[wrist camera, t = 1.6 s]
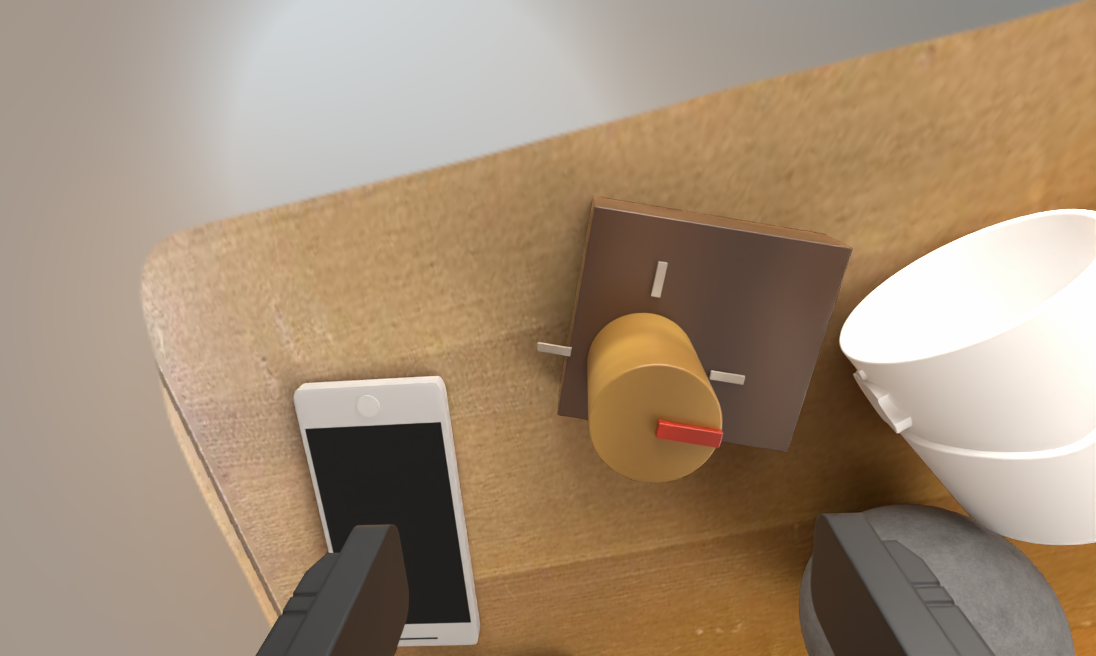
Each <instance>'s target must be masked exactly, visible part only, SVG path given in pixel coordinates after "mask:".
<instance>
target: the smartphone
mask: <svg viewBox="0 0 1096 656" xmlns="http://www.w3.org/2000/svg"><path fill="white" fill-rule="evenodd" d="M294 405H295V409H296V414H297V418H298V422H299V427H300V431H301V435H302V439H303V444H304V448H305V452H306V457H307V461H308V465H309V470H310V474H311V478H312V483H313V487H314V491H315V496H316V500H317V504H318V508H319V513H320V517H321V521H322V526H323V530H324V534H325V539H326V543H327V547H328V552H329V553H340V552H341V550H342V548H343V546H344V544H345V543H346V541H347V539H348V537H349V535H350V533H351V532H352V530H353V528H354V527H355V526H357V525H390V524H394V525H395V526H396V527H397V529H398V532H399V537H400V542H401V548H402V554H403V559H404V565H405V571H406V576H407V582H408V588H409V607H408V614H407V619H406V623H405V626H404V629H403V632H402V635H401V638H400V640H399V643H398V646H441V645H474V644H476V643H477V641H478V636H479V631H480V620H479V613H478V606H477V599H476V592H475V586H474V579H473V572H472V565H471V558H470V551H469V544H468V537H467V530H466V524H465V517H464V510H463V503H462V496H461V489H460V482H459V475H458V469H457V462H456V455H455V448H454V441H453V434H452V427H451V420H450V414H449V407H448V400H447V393H446V387H445V383H444V381H443V379H442V378H441V377H439V376H426V377H408V378H390V379H372V380H353V381H335V382H317V383H304V384H302V385H301V386H300V387H299V388H298V389H297V390H296V391H295V393H294Z"/></svg>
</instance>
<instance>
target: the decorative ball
mask: <svg viewBox="0 0 1096 656" xmlns="http://www.w3.org/2000/svg"><path fill="white" fill-rule="evenodd" d="M860 513H862V514H863V515H864V516H865V517H866V518H867V520H868V521H869V522H870V524H871V525H872V527H873V528H874V530H875V531H876V533H877V534H878V535H879V537H880V538H881V540H897V541H898V542H900V543H901V544H902V545H904V546H905V547H907V548H908V549H909V550H911V551H912V552H914V553H915V554H916V555H918V556H919V557H921V558H922V559H923V560H924V561H925V563H926V564H927V565H928V567H929V568H930V569H931V570H932V572H933V573H934V574H935V576H936V577H937V578H938V580H939V581H940V585H941V586H944V588H945V589H946V590H947V592H948V593H949V594H950V596H951V597H952V598H953V600H954V603H955V605H958V606H959V608H960V609H961V610H962V612H963V613H964V614H965V616H966V617H967V618H968V619H969V621H970V622H971V623H972V625H973V626H974V627H975V629H976V630H977V631H978V633H979V634H980V635H981V637H982V638H983V639H984V641H985V642H986V643H987V645H988V646H989V647H990V649H991V650H992V651H993V653H994V654H995V655H996V656H1075V651H1074V644H1073V639H1072V635H1071V631H1070V628H1069V624H1068V620H1067V618H1066V616H1065V613H1064V610H1063V608H1062V606H1061V604H1060V602H1059V600H1058V598H1057V596H1056V594H1055V592H1054V591H1053V589H1052V587H1051V586H1050V585H1049V583H1048V582H1047V580H1046V579H1045V577H1044V576H1043V574H1042V573H1041V572H1040V571H1039V570H1038V569H1037V567H1036V566H1035V565H1034V564H1033V562H1032V561H1031V560H1030V559H1029V558H1028V557H1027V556H1026V555H1025V554H1024V553H1023V552H1022V551H1020V550H1019V549H1018V548H1017V547H1016V546H1014V545H1013V544H1012V543H1011V542H1009V541H1008V540H1007V539H1005V538H1004V537H1003V536H1001V535H1000V534H998V533H996V532H994V531H992V530H990V529H988V528H986V527H984V526H983V525H981V524H980V523H978V522H977V521H975V520H973V519H971V518H969V517H967V516H964V515H962V514H959V513H957V512H953V511H949V510H946V509H943V508H939V507H934V506H926V505H920V504H893V505H887V506H881V507H877V508H873V509H869V510H866V511H863V512H860ZM811 564H812V555H811V557H810V559H809V561H808V563H807V565H806V568H805V571H804V574H803V577H802V581H801V586H800V595H799V616H800V624H801V630H802V634H803V638H804V642H805V645H806V648H807V651H808V654H809V656H835V655H834V653H833V651H832V649H831V647H830V645H829V642H828V640H827V638H826V636H825V634H824V631H823V629H822V627H821V625H820V623H819V621H818V618H817V616H816V613H815V610H814V606H813V602H812V597H811V588H810V577H811Z"/></svg>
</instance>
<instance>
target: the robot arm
mask: <svg viewBox="0 0 1096 656" xmlns="http://www.w3.org/2000/svg"><path fill="white" fill-rule="evenodd" d="M810 588H811V597H812V602H813V606H814V610H815V613H816V616H817V618H818V621H819V623H820V625H821V627H822V629H823V631H824V634H825V636H826V638H827V640H828V642H829V645H830V647H831V649H832V651H833V653H834V655H835V656H996V655H995V654H994V653H993V651H992V650H991V649H990V647H989V646H988V645H987V643H986V642H985V641H984V639H983V638H982V637H981V635H980V634H979V633H978V631H977V630H976V629H975V627H974V626H973V625H972V623H971V622H970V621H969V619H968V618H967V617H966V616H965V614H964V613H963V612H962V610H961V609H960V608H959V606H958V605H955V603H954V600H953V598H952V597H951V596H950V594H949V593H948V592H947V590H946V589H945V588H944V586H941V585H940V581H939V580H938V578H937V577H936V576H935V574H934V573H933V572H932V570H931V569H930V568H929V567H928V565H927V564H926V563H925V561H924V560H923V559H922V558H921V557H919V556H918V555H916V554H915V553H914V552H912V551H911V550H909V549H908V548H907V547H905V546H904V545H902V544H901V543H900V542H898V541H897V540H881V538H880V537H879V535H878V534H877V533H876V531H875V530H874V528H873V527H872V525H871V524H870V522H869V521H868V520H867V518H866V517H865V516H864V515H863V514H862V513H824V514H818V515H817V516H816V519H815V525H814V538H813V551H812V564H811V577H810ZM408 607H409V588H408V582H407V576H406V571H405V565H404V559H403V554H402V548H401V542H400V537H399V532H398V529H397V527H396V526H395V525H394V524H390V525H357V526H355V527H354V528H353V530H352V532H351V533H350V535H349V537H348V539H347V541H346V543H345V544H344V546H343V548H342V550H341V552H340V553H327V554H326V555H325V556H324V557H322V558H321V559H320V560H319V561H318V562H317V563H316V564H314V565H313V566H312V567H311V568H310V569H309V570H308V571H306V573H305V574H304V576H303V578H302V579H301V581H300V583H299V584H298V586H297V588H296V589H295V591H294V593H293V597H291V598H290V599H289V601H288V603H287V604H286V606H285V608H284V609H283V614H282V615H280V616H279V618H278V619H277V621H276V623H275V624H274V626H273V628H272V629H271V631H270V633H269V634H268V636H267V638H266V639H265V641H264V643H263V644H262V646H261V648H260V649H259V651H258V653H257V654H256V656H394V655H395V652H396V649H397V646H398V643H399V640H400V638H401V635H402V632H403V629H404V626H405V623H406V619H407V614H408Z"/></svg>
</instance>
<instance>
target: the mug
mask: <svg viewBox="0 0 1096 656" xmlns="http://www.w3.org/2000/svg"><path fill="white" fill-rule="evenodd" d="M839 343H840V348H841V350H842V352H843V353H844V354H845V356H846V357H847V358H848V359H849V360H850V361H851V363H852V364H853V365H854V366H855V367H856V369H857V371H856V373H854V374H853V376H854V378H855V380H856V382H857V383H858V385H859V386H860V388H861V390H862V391H863V393H864V394H865V396H866V397H867V399H868V400H869V401H870V403H871V404H872V406H873V407H874V408H875V410H876V411H877V413H878V414H879V415H880V417H881V418H882V419H883V420H884V421H885V422H887V423H888V424H889V425H890V427H891V428H892V429H893V430H894V431H895V432H896V433H897V434H898V433H900V434H901V435H902V436H903V438H904V439H905V440H906V441H907V442H908V443H909V445H910V446H911V447H912V448H913V449H914V451H915V452H916V453H917V454H918V455H919V457H920V458H921V459H922V460H923V461H924V463H925V464H926V465H927V466H928V467H929V468H930V470H931V471H932V472H933V473H934V474H935V476H936V477H937V478H938V479H939V480H940V482H941V483H942V484H943V485H944V486H945V488H946V489H947V490H948V491H949V492H950V493H951V495H952V496H953V497H954V498H955V499H956V501H957V502H958V503H959V504H960V505H961V507H962V508H963V509H964V510H965V511H966V512H967V513H968V514H969V516H971V517H972V518H973V519H974V520H975V521H977V522H978V523H980V524H981V525H983V526H984V527H986V528H988V529H990V530H992V531H994V532H996V533H998V534H1001V535H1003V536H1006V537H1009V538H1013V539H1016V540H1020V541H1025V542H1030V543H1037V544H1047V545H1076V544H1087V543H1094V542H1096V211H1091V210H1083V209H1064V210H1054V211H1047V212H1041V213H1036V214H1031V215H1027V216H1023V217H1019V218H1015V219H1012V220H1008V221H1005V222H1002V223H999V224H995V225H993V226H990V227H987V228H984V229H982V230H979V231H976V232H974V233H971V234H969V235H967V236H964V237H962V238H960V239H957V240H955V241H953V242H951V243H949V244H947V245H944V246H942V247H940V248H938V249H936V250H935V251H933V252H931V253H929V254H927V255H925V256H923V257H922V258H920V259H918V260H916V261H915V262H913V263H911V264H910V265H908V266H907V267H905V268H903V269H902V270H900V271H899V272H897V273H896V274H894V275H893V276H892V277H890V278H889V279H887V280H886V281H885V282H883V283H882V284H881V285H879V286H878V287H877V288H876V289H875V290H873V291H872V292H871V293H870V294H869V295H868V296H867V297H866V298H864V299H863V300H862V301H861V302H860V304H859V305H858V306H857V307H856V308H855V309H854V310H853V311H852V313H851V314H850V315H849V317H848V318H847V320H846V321H845V323H844V325H843V327H842V330H841V333H840V338H839Z"/></svg>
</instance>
